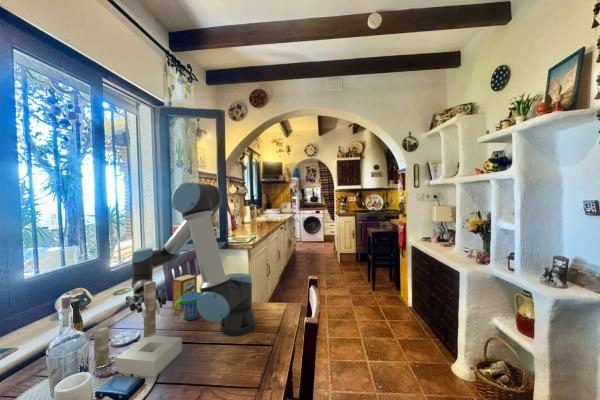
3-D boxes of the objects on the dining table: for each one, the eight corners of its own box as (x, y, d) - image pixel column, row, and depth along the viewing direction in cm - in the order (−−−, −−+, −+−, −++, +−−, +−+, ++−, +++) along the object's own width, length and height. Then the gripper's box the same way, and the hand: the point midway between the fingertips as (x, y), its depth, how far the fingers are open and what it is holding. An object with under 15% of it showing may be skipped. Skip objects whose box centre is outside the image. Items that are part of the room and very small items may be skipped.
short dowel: (109, 354, 91) (109, 332, 91) (100, 360, 88) (100, 337, 88) (100, 353, 92) (100, 331, 92) (91, 359, 88) (91, 336, 88)
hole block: (181, 351, 93) (181, 337, 93) (154, 377, 79) (154, 361, 79) (147, 348, 95) (147, 334, 95) (115, 373, 81) (115, 357, 81)
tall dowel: (157, 332, 89) (158, 281, 89) (150, 337, 85) (150, 284, 85) (148, 331, 89) (149, 281, 89) (141, 337, 86) (141, 284, 86)
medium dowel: (111, 362, 87) (111, 327, 87) (102, 369, 83) (101, 332, 83) (102, 361, 87) (102, 326, 87) (92, 368, 84) (92, 332, 84)
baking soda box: (188, 303, 137) (188, 273, 137) (196, 305, 134) (196, 275, 135) (172, 309, 129) (172, 278, 129) (181, 312, 126) (181, 280, 126)
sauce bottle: (68, 362, 87) (68, 305, 87) (54, 360, 88) (53, 303, 88) (87, 351, 93) (87, 298, 93) (74, 349, 94) (74, 296, 94)
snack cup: (175, 326, 112) (175, 303, 112) (172, 317, 120) (172, 296, 120) (211, 317, 120) (211, 295, 120) (206, 309, 129) (206, 289, 129)
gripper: (167, 295, 106) (179, 316, 88) (119, 305, 97) (121, 330, 78) (167, 278, 106) (179, 294, 88) (119, 286, 97) (121, 306, 78)
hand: (151, 311), depth 83 cm, fingers closed on tall dowel, 3 cm apart
